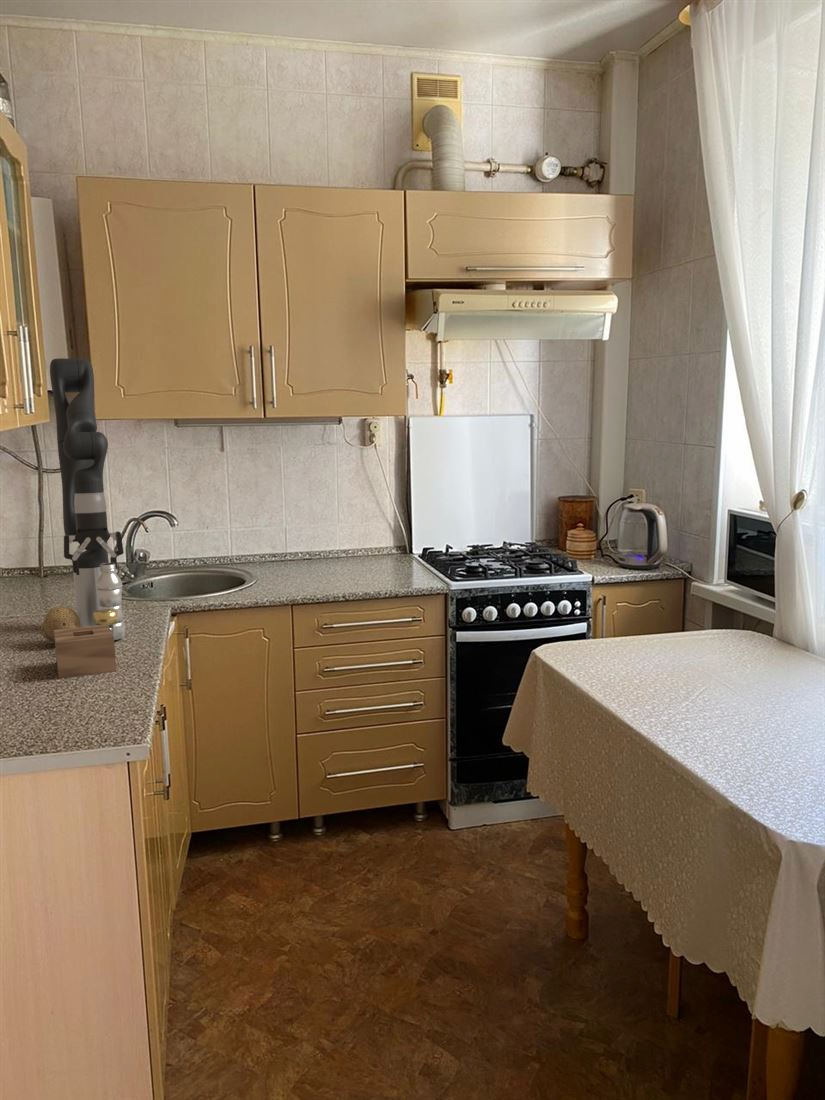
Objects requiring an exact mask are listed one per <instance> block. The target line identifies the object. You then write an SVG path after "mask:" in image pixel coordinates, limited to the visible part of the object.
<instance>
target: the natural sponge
mask: <svg viewBox="0 0 825 1100" xmlns="http://www.w3.org/2000/svg"><path fill="white" fill-rule="evenodd" d="M79 627H80V622H79V618H78V616H77V613H76V611H75V610H73V609H72V608H71V607H68V606H64V605H62V606H61V605H59V606H55V607H54V608H51V609H50V610H49V611H48V612H47V614H46V615H45V617H44V619H43V622H42V624H41V627H40V634H41V636H42V638H44V639H46V640H48V641H50V642H52V643H54V644H55V636H54V630H61V629H70V628H79Z"/></svg>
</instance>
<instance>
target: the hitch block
mask: <svg viewBox="0 0 825 1100" xmlns="http://www.w3.org/2000/svg"><path fill="white" fill-rule="evenodd" d="M54 636H55V643H54V646H55V659H56V666H57V674H58V679H65V677H66V678H73V676H74V677H81V675H82V676H88V675H89V676H90V675H95V674H104V673H112V672H117V664H116V663H117V661H116V650H115V649H116V647H115V646H116V645H115V640H114V636H113V634H112V631H111V629H110V627H109V624H107V625H98V626H89V627H79V628H70V629H61V630H54ZM114 645H115V646H114Z"/></svg>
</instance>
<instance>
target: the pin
mask: <svg viewBox="0 0 825 1100" xmlns="http://www.w3.org/2000/svg"><path fill="white" fill-rule="evenodd" d="M93 614H94V624H95V625H107V624H109V627H110V629H111V631H112V634H113V636H114V631H113V624H116V623H118V610H116V609H104V610H98V611H95V612H93ZM114 646H116V645H115V644H114Z"/></svg>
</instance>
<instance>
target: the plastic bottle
mask: <svg viewBox="0 0 825 1100" xmlns="http://www.w3.org/2000/svg"><path fill="white" fill-rule="evenodd" d="M116 571H117V569H116V568H115V563H111V562H109V563H103V564H100V572H102V574H101V575H100V577H99V578H98V580H97V583H96V589H97V593H98V598H99V605H100V610H104V609H116V610H118V623H116V624H113V631H114V641H117V640H121V639H123V638H124V637H125V635H126V626H125V625H126V624H125V620H124V615H123V611H122V610H123V609H122V598H123V597H122V596H123V595H122V594H123V581H122V579H121V578H120V577H119V575H118V574H117V573H116Z"/></svg>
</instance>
